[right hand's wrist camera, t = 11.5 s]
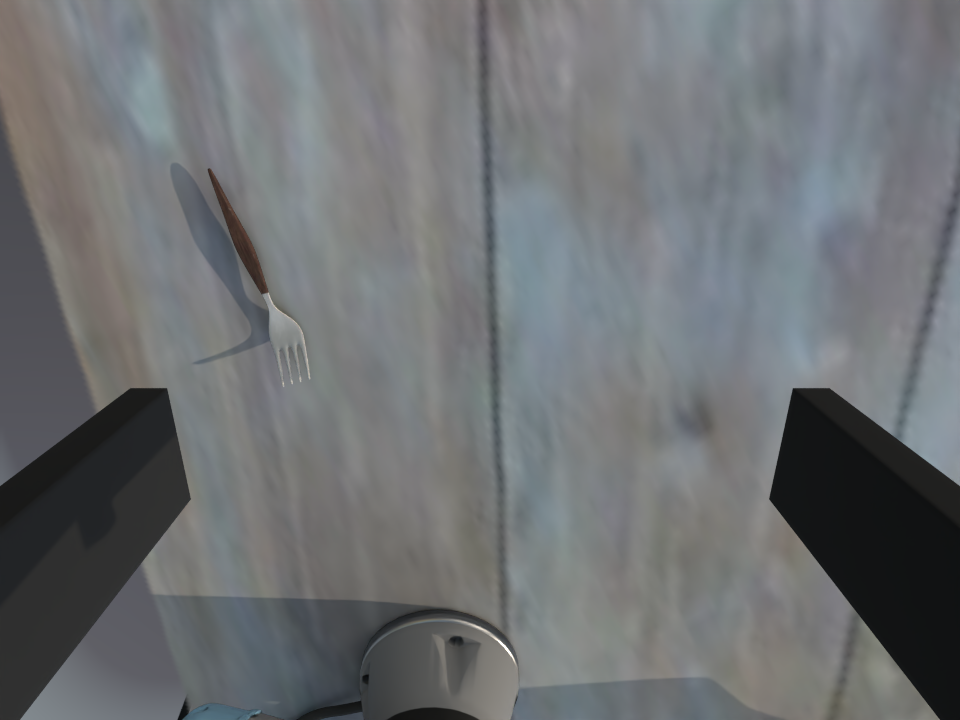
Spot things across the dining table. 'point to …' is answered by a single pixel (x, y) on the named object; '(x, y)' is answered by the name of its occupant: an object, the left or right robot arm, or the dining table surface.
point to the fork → (263, 290)
